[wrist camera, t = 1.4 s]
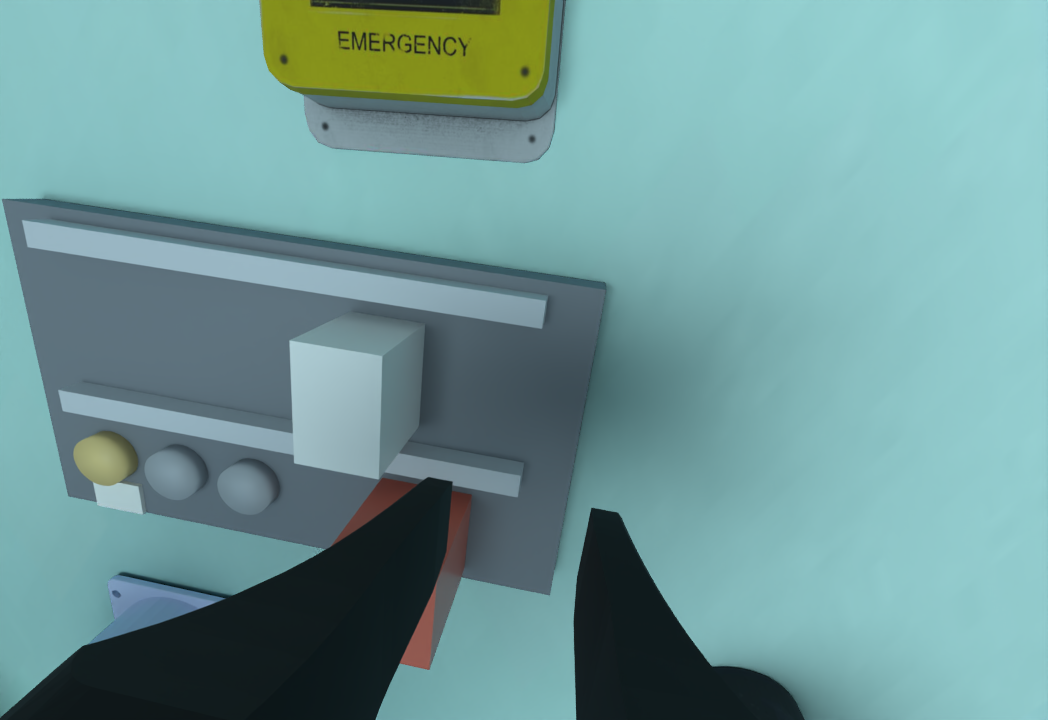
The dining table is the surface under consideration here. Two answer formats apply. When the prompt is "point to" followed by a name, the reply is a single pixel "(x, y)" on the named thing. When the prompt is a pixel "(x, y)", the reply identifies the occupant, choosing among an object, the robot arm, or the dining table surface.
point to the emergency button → (422, 73)
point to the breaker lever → (356, 392)
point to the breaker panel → (265, 376)
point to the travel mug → (760, 694)
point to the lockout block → (450, 573)
